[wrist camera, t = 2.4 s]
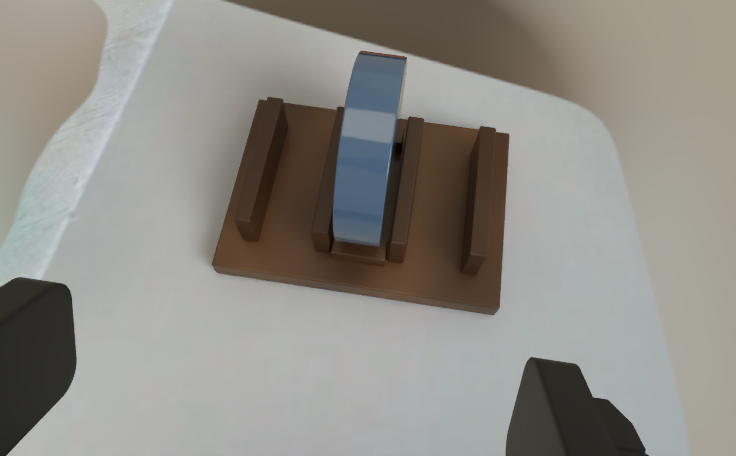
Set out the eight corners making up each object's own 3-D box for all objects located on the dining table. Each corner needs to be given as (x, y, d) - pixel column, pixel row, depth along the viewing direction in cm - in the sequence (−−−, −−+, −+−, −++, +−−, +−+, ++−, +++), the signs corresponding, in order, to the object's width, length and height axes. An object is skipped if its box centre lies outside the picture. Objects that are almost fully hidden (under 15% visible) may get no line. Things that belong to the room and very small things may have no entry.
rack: (504, 145, 31) (521, 106, 28) (494, 315, 27) (512, 293, 24) (262, 111, 32) (251, 69, 29) (216, 273, 28) (198, 245, 25)
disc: (398, 130, 30) (413, 12, 23) (376, 274, 27) (384, 192, 19) (362, 125, 30) (364, 6, 23) (336, 267, 27) (327, 184, 19)
